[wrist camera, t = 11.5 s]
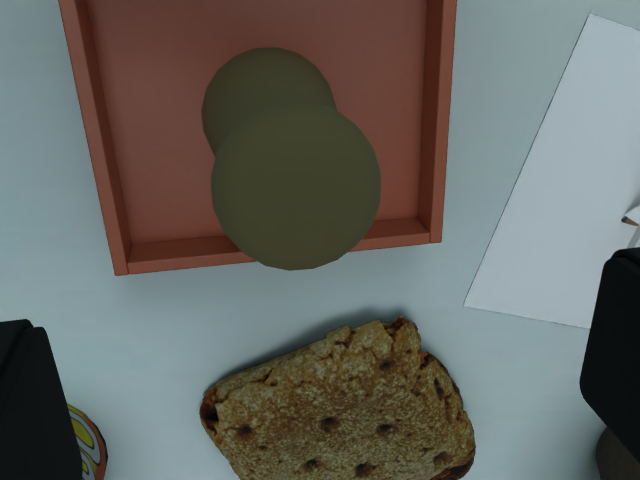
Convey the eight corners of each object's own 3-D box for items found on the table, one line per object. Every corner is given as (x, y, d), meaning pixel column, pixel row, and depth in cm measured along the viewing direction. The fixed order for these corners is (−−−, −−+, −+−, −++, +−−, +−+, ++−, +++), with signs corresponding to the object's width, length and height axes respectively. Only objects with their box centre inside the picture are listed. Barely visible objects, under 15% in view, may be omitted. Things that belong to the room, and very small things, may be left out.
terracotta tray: (122, 251, 28) (114, 276, 26) (68, -25, 23) (52, -24, 21) (425, 222, 30) (441, 242, 28) (437, -38, 25) (460, -39, 23)
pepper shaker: (325, 34, 25) (397, 79, 15) (344, 166, 28) (417, 277, 18) (185, 61, 25) (168, 124, 15) (219, 193, 27) (223, 320, 18)
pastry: (252, 266, 30) (256, 296, 27) (528, 341, 35) (555, 373, 32) (158, 508, 36) (154, 552, 33) (407, 542, 41) (420, 583, 38)
